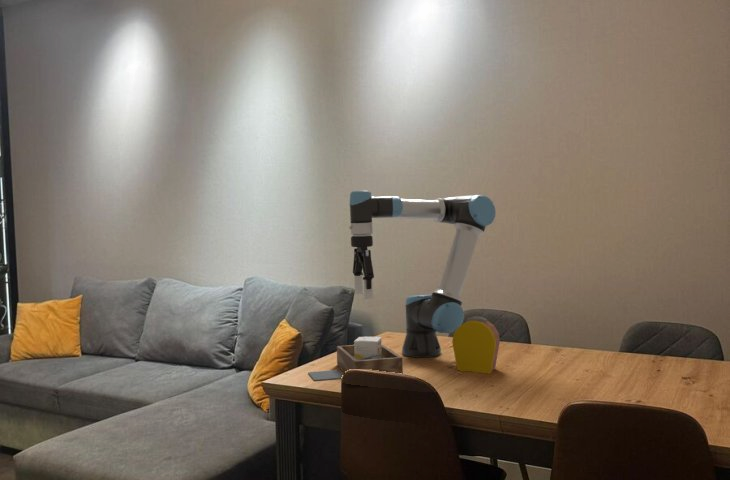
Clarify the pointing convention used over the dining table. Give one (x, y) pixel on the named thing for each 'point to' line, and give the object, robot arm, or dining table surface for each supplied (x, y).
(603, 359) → the dining table surface
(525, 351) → the dining table surface
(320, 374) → the slate pad
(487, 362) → the yellow arched block
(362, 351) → the ink box
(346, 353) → the walnut frame
